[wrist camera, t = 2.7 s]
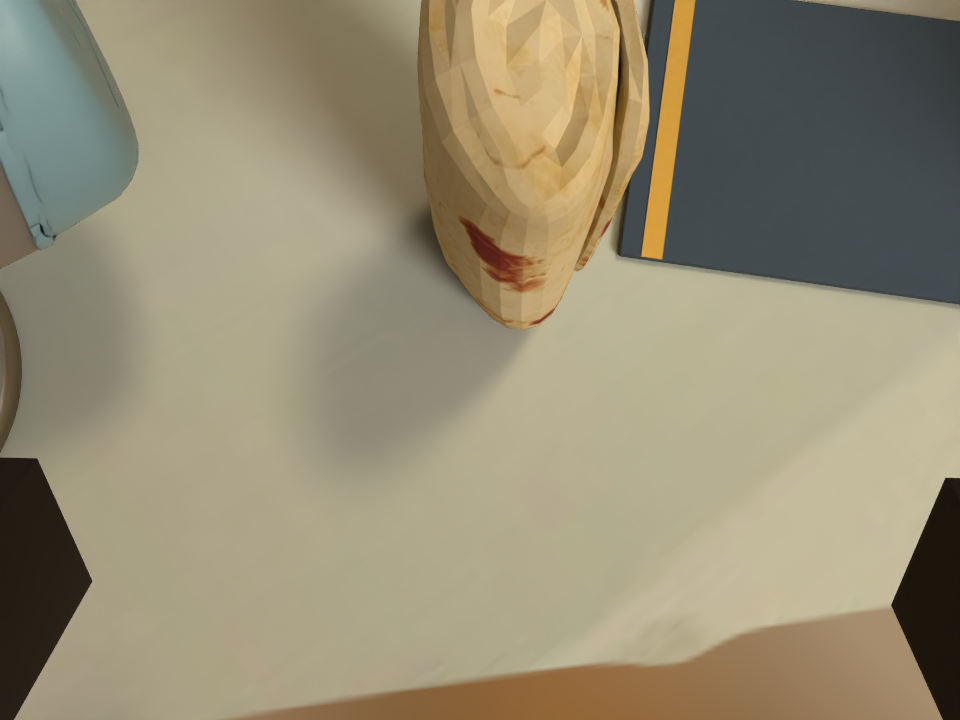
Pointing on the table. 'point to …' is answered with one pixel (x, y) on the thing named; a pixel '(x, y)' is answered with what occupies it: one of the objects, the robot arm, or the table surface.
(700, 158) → the towel
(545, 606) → the table surface
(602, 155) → the food model
